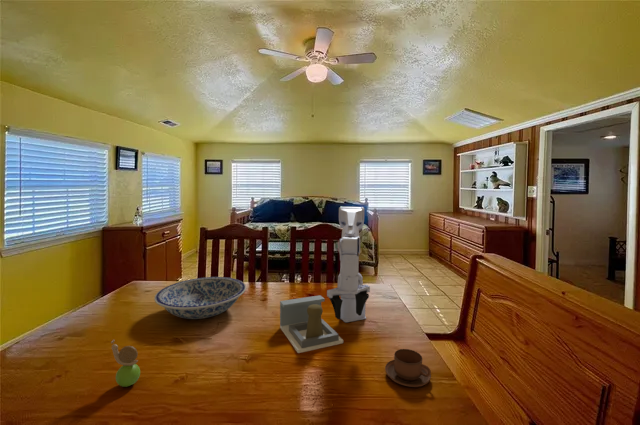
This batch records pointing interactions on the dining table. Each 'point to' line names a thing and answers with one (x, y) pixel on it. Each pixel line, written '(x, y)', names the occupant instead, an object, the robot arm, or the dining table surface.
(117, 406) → the dining table surface
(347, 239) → the robot arm
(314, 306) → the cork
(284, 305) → the socket block
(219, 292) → the ceramic bowl
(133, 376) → the snail figurine
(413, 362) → the cup and saucer
